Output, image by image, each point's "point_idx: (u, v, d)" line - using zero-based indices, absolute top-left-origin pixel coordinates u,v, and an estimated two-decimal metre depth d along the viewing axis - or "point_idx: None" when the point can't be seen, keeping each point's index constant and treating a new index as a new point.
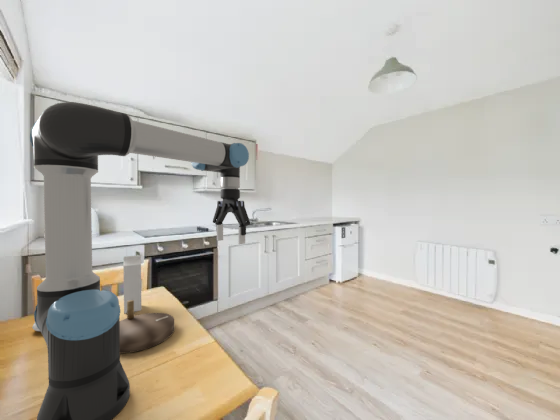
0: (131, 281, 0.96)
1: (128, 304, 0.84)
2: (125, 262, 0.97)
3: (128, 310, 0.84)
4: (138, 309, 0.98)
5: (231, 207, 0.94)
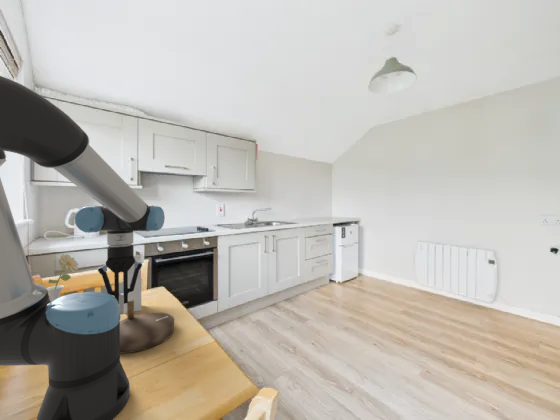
0: None
1: (128, 304, 0.84)
2: None
3: (128, 310, 0.84)
4: (138, 309, 0.98)
5: None
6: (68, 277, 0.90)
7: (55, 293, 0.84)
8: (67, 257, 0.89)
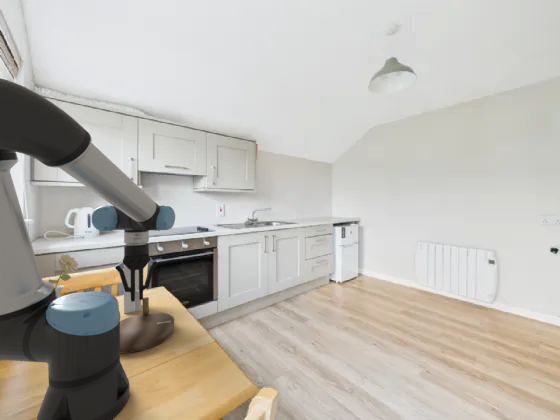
0: None
1: (142, 301, 0.87)
2: None
3: (142, 306, 0.87)
4: None
5: None
6: (68, 277, 0.90)
7: None
8: (67, 257, 0.89)
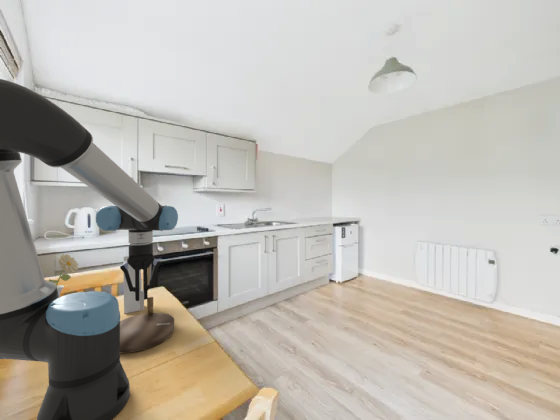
0: (131, 281, 0.96)
1: (147, 300, 0.88)
2: (125, 262, 0.97)
3: (147, 306, 0.88)
4: (138, 309, 0.98)
5: None
6: (68, 277, 0.90)
7: None
8: (67, 257, 0.89)
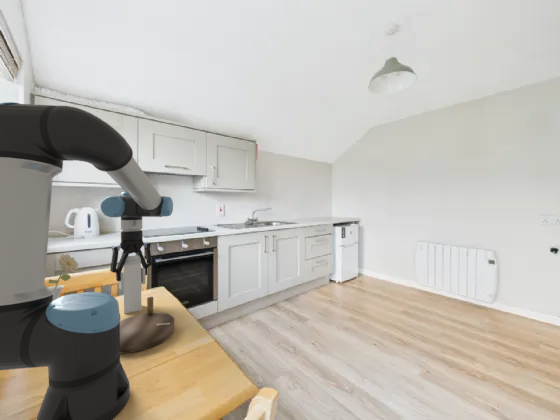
0: (131, 281, 0.96)
1: (147, 300, 0.88)
2: (125, 262, 0.97)
3: (147, 306, 0.88)
4: (138, 309, 0.98)
5: None
6: (68, 277, 0.90)
7: (55, 293, 0.84)
8: (67, 257, 0.89)
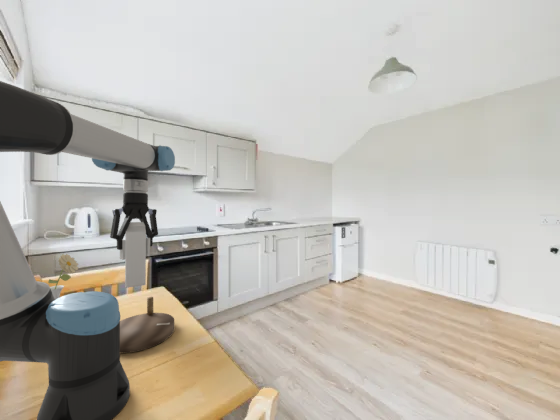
0: (134, 250, 0.83)
1: (147, 300, 0.88)
2: None
3: (147, 306, 0.88)
4: (142, 284, 0.84)
5: None
6: (68, 277, 0.90)
7: (55, 293, 0.84)
8: (67, 257, 0.89)
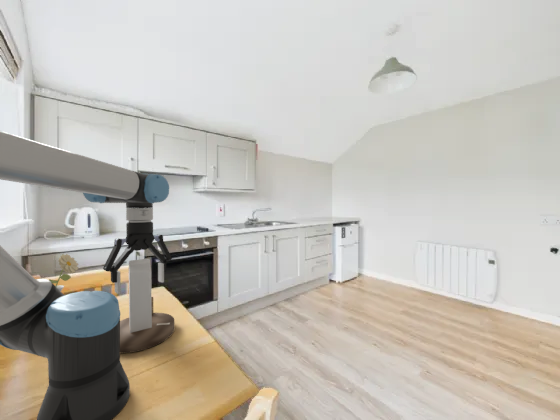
0: (139, 291, 0.77)
1: None
2: (131, 268, 0.77)
3: None
4: (148, 326, 0.78)
5: None
6: (68, 277, 0.90)
7: None
8: (67, 257, 0.89)
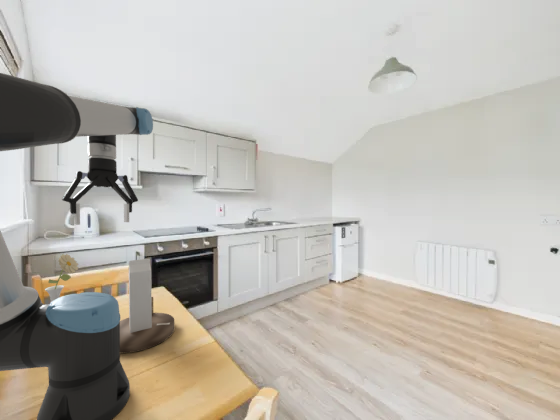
0: (139, 291, 0.76)
1: None
2: (131, 268, 0.77)
3: None
4: (148, 326, 0.78)
5: None
6: (68, 277, 0.90)
7: (55, 293, 0.84)
8: (67, 257, 0.89)
